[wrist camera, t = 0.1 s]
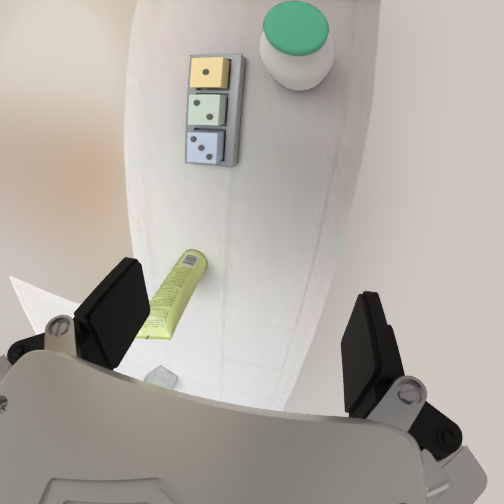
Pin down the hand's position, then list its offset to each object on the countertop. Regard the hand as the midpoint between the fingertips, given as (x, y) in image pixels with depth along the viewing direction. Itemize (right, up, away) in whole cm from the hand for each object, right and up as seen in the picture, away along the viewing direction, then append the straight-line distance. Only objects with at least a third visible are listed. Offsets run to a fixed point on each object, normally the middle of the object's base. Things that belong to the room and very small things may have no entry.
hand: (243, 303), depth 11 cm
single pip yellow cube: (-5, +26, +19) cm, 32 cm away
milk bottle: (+7, +27, +20) cm, 34 cm away
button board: (-5, +23, +24) cm, 33 cm away
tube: (-10, +1, +38) cm, 40 cm away
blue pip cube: (-5, +17, +25) cm, 30 cm away
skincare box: (-26, -34, +62) cm, 75 cm away
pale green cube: (-5, +21, +22) cm, 31 cm away
